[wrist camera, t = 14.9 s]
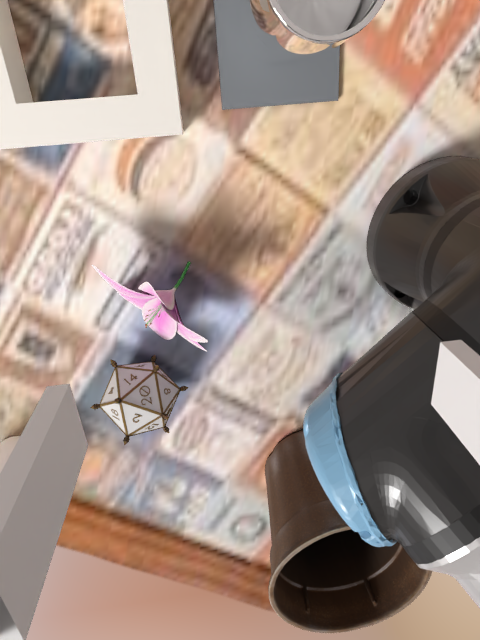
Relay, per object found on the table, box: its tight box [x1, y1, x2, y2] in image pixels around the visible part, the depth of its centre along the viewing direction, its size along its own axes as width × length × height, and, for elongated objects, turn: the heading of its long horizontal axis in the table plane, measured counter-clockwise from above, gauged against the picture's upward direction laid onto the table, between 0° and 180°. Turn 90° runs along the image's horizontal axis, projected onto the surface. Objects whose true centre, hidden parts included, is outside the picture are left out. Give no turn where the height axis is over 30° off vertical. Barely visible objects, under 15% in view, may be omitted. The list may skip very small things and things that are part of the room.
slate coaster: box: [213, 0, 340, 110], centre depth 34 cm, size 10×12×1 cm
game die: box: [91, 355, 188, 445], centre depth 45 cm, size 9×8×10 cm
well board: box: [0, 0, 184, 149], centre depth 32 cm, size 15×15×4 cm
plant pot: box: [265, 431, 432, 633], centre depth 49 cm, size 16×16×16 cm
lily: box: [92, 262, 208, 351], centre depth 41 cm, size 12×12×10 cm
